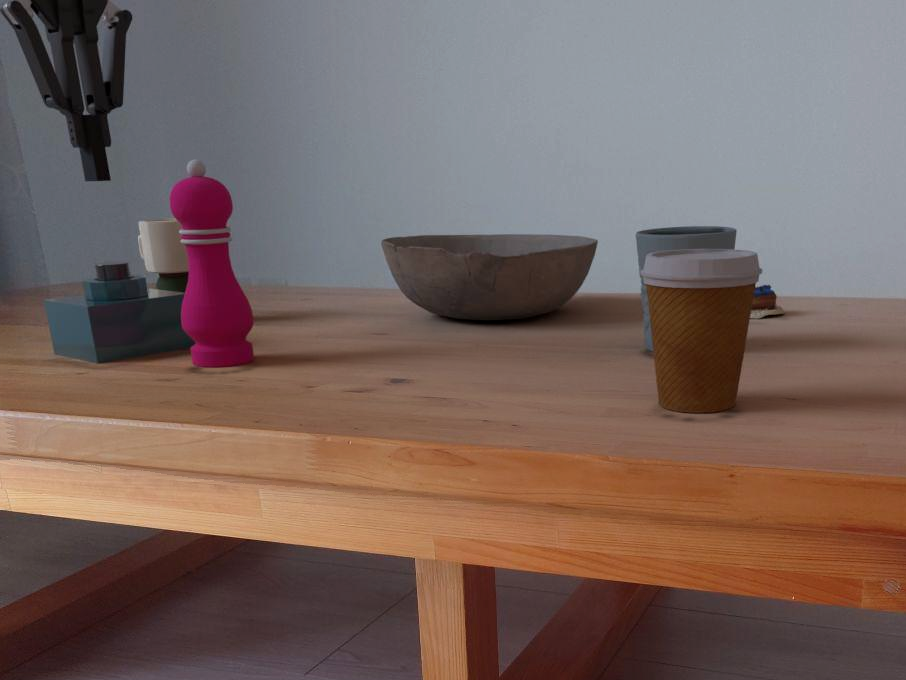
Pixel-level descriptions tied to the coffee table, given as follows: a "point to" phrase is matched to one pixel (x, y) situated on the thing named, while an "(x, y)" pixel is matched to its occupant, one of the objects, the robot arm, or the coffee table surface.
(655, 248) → the grey cup
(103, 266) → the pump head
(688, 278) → the disposable coffee cup
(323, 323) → the coffee table surface
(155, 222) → the character mug
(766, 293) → the dessert
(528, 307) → the bowl
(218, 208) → the pepper mill
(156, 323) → the blue-grey boxy piece
